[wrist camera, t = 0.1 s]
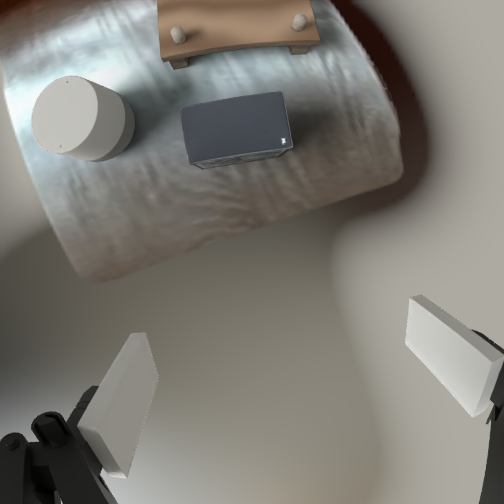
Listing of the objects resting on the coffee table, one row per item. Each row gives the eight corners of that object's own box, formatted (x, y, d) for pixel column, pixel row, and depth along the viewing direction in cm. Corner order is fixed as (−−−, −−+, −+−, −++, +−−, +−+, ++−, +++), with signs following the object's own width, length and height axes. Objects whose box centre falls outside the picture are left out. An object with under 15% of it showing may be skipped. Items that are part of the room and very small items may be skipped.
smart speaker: (138, 161, 38) (94, 154, 24) (80, 164, 37) (21, 163, 24) (142, 94, 36) (103, 59, 22) (84, 101, 35) (30, 77, 22)
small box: (272, 110, 37) (285, 87, 27) (280, 157, 39) (296, 149, 29) (192, 123, 37) (178, 104, 27) (200, 170, 39) (188, 167, 29)
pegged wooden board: (164, -2, 32) (152, -32, 24) (291, -16, 32) (301, -47, 24) (170, 73, 35) (155, 50, 27) (309, 57, 36) (325, 32, 27)
